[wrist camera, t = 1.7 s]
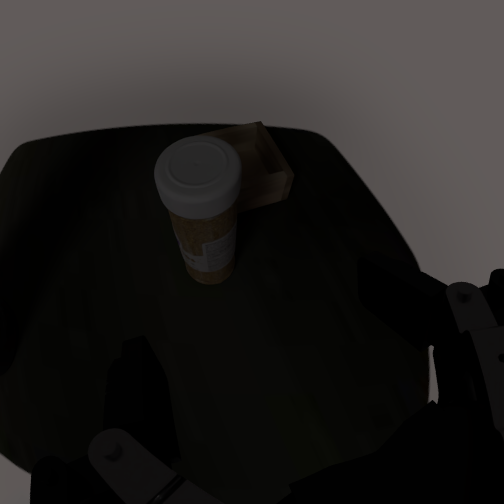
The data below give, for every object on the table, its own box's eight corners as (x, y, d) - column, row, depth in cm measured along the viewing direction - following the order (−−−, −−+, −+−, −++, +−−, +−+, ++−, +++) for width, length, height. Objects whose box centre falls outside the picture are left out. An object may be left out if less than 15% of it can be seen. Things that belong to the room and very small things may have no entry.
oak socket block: (212, 221, 28) (210, 197, 24) (191, 163, 30) (187, 137, 27) (287, 199, 29) (294, 174, 26) (257, 146, 32) (260, 121, 29)
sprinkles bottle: (177, 254, 26) (140, 153, 14) (219, 231, 27) (215, 121, 15) (201, 296, 25) (174, 215, 12) (245, 270, 26) (260, 173, 14)
